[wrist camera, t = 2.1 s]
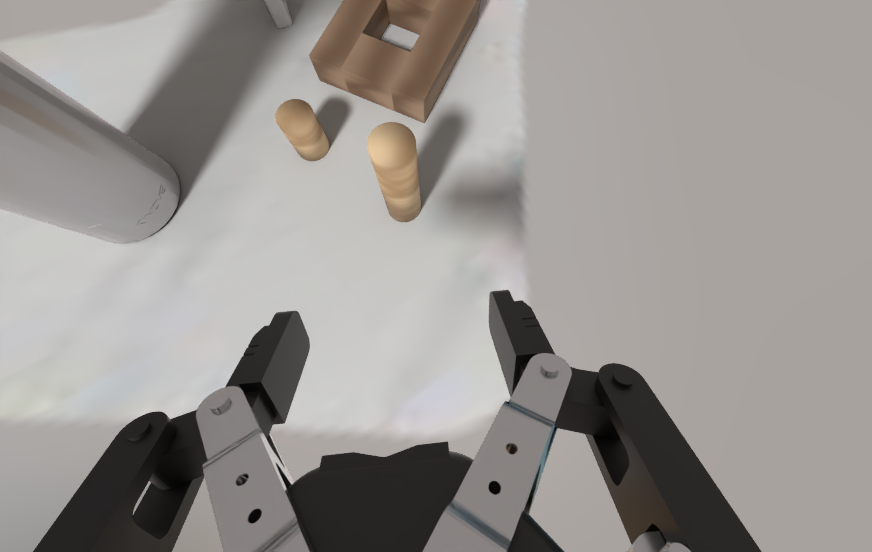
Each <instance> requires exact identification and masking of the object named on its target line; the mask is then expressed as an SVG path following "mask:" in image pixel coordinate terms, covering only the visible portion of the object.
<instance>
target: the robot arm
mask: <svg viewBox="0 0 872 552" xmlns="http://www.w3.org/2000/svg"><path fill="white" fill-rule="evenodd" d="M179 197H180V185H179V180H178V177H177V175H176V173H175V171H174V170H173V168H172V167H171V166H170V165H169V164H168V163H167V162H165V161H164V160H163V159H161V158H160V157H158V156H157V155H155V154H154V153H152V152H151V151H149V150H148V149H146V148H145V147H143V146H142V145H140V144H139V143H138V142H136V141H135V140H133V139H132V138H130V137H129V136H127V135H126V134H124V133H123V132H121V131H120V130H118V129H117V128H115V127H114V126H112V125H111V124H109V123H108V122H106V121H105V120H103V119H102V118H100V117H99V116H97V115H96V114H95V113H93V112H92V111H90V110H89V109H87V108H86V107H84V106H83V105H81V104H80V103H78V102H77V101H75V100H74V99H72V98H71V97H69V96H68V95H66V94H65V93H63V92H62V91H60V90H59V89H57V88H56V87H54V86H53V85H51V84H50V83H48V82H47V81H45V80H44V79H42V78H41V77H39V76H38V75H36V74H35V73H33V72H32V71H30V70H29V69H27V68H26V67H24V66H23V65H21V64H20V63H18V62H17V61H15V60H14V59H12V58H11V57H9V56H8V55H6V54H5V53H3V52H2V51H0V209H3V210H6V211H9V212H13V213H16V214H19V215H23V216H26V217H29V218H33V219H36V220H39V221H42V222H46V223H49V224H52V225H56V226H58V227H62V228H65V229H68V230H72V231H75V232H78V233H81V234H85V235H88V236H91V237H95V238H98V239H101V240H105V241H109V242H113V243H130V242H136V241H139V240H142V239H144V238H147V237H149V236H150V235H152V234H154V233H155V232H157V231H158V230H159V229H161V228H162V227H163V226H164V225H165V224H166V223H167V222H168V220H169V219H170V218H171V217H172V215H173V213H174V211H175V209H176V207H177V204H178V201H179ZM489 328H490V333H491V336H492V339H493V342H494V346H495V349H496V352H497V355H498V358H499V362H500V365H501V368H502V371H503V374H504V377H505V381H506V384H507V387H508V390H509V393H510V396H511V398H510V400H509V402H504V403H503V405H502V407H501V408H500V410H499V412H498V414H497V416H496V418H495V420H494V422H493V424H492V426H491V428H490V430H489V432H488V434H487V435H486V437H485V439H484V441H483V443H482V445H481V447H480V449H479V451H478V453H477V455H476V457H475V459H474V460H472V459H471V458H469V457H467V456H465V455H463V454H459V453H456V452H450V451H449V448H448V442H441V443H432V444H423V445H416V446H414V447H411V448H409V449H406V450H403V451H401V452H398V453H395V454H393V455H390V456H387V457H378V456H372V455H365V454H360V453H354V452H353V453H344V454H335V455H326V456H322V459H321V464H320V467H319V468H316V469H314V470H312V471H310V472H308V473H307V474H305V475H304V476H302V477H301V478H299V479H298V480H297V481H296V482H294V481H293V480H292V478H291V476H290V474H289V472H288V470H287V468H286V466H285V464H284V462H283V459H282V457H281V455H280V453H279V451H278V449H277V447H276V445H275V443H274V440H273V438H272V437H271V435H270V430H271V428H272V425H273V424H283V423H285V421H286V418H287V415H288V412H289V409H290V406H291V403H292V400H293V397H294V394H295V392H296V389H297V386H298V383H299V380H300V377H301V374H302V371H303V368H304V365H305V362H306V359H307V356H308V353H309V348H310V343H309V338H308V335H307V332H306V330H305V327H304V325H303V322H302V320H301V317H300V315H299V313H298V312H297V311H287V312H278V313H276V314H275V315H274V317H273V319H272V321H271V323H270V325H269V326H264V327H263V328H262V329H261V330H260V331H259V332H257V333H256V334H255V335H254V337H253V338H252V340H251V342H250V344H249V346H248V348H247V349H246V351H245V353H244V356H243V357H242V358H241V360H240V362H239V363H238V365H237V367H236V369H235V371H234V372H233V374H232V376H231V378H230V379H229V381H228V383H227V385H226V387H225V388H222V389H219V390H217V391H215V392H214V393H212V394H210V395H209V396H208V397H207V398H206V399H204V401H203V402H202V403H201V404H200V405H199V407H198V409H197V410H195V411H192V412H190V413H187V414H184V415H181V416H178V417H176V418H173V419H170V418H169V417H168V416H167V415H166V414H165V413H163V412H151V413H148V414H145V415H143V416H140V417H138V418H137V419H135V420H133V421H132V422H130V423H129V424H128V425H126V426H125V427H124V428H123V429H122V430H121V431H120V432H119V434H118V435H117V436H116V437H115V439H114V440H113V441H112V443H111V444H110V446H109V447H108V448H107V450H106V451H105V453H104V454H103V455H102V457H101V458H100V459H99V461H98V462H97V464H96V465H95V466H94V468H93V469H92V471H91V472H90V473H89V475H88V476H87V477H86V479H85V480H84V482H83V483H82V484H81V486H80V487H79V489H78V490H77V491H76V493H75V494H74V496H73V497H72V498H71V500H70V501H69V502H68V504H67V505H66V507H65V508H64V509H63V511H62V512H61V514H60V515H59V516H58V518H57V519H56V521H55V522H54V524H53V525H52V526H51V528H50V529H49V530H48V532H47V533H46V535H45V536H44V537H43V539H42V540H41V541H40V543H39V544H38V546H37V547H36V548H35V550H34V551H33V552H172V550H173V548H174V545H175V543H176V541H177V538H178V536H179V534H180V531H181V529H182V527H183V525H184V522H185V520H186V517H187V515H188V513H189V511H190V509H191V506H192V504H193V502H194V499H195V497H196V495H197V492H198V490H199V488H200V485H201V483H202V481H203V479H204V476H205V480H206V484H207V488H208V492H209V496H210V500H211V504H212V508H213V512H214V516H215V519H216V523H217V528H218V531H219V536H220V540H221V543H222V547H223V551H224V552H564V551H563V550H562V549H561V548H560V547H559V546H558V545H557V544H556V543H555V541H554V540H553V539H552V538H551V537H550V536H549V535H548V534H547V533H546V532H545V531H544V530H543V529H542V528H541V527H540V526H539V525H538V524H537V523H536V522H535V521H534V519H533V518H532V517H531V516H530V515H529V513H530V509H531V507H532V504H533V501H534V498H535V495H536V492H537V489H538V485H539V482H540V479H541V476H542V473H543V469H544V466H545V463H546V461H547V458H548V455H549V452H550V449H551V446H552V443H553V440H554V437H555V434H556V431H557V429H558V428H560V429H565V430H569V431H574V432H579V433H584V434H585V435H586V437H587V439H588V442H589V444H590V446H591V449H592V451H593V453H594V456H595V458H596V461H597V463H598V466H599V468H600V470H601V473H602V475H603V477H604V480H605V482H606V484H607V487H608V489H609V492H610V494H611V496H612V499H613V501H614V503H615V506H616V508H617V511H618V513H619V515H620V518H621V520H622V523H623V525H624V527H625V530H626V532H627V535H628V537H629V539H630V542H631V544H632V546H631V547H630V548H629V550H628V551H627V552H761V550H760V549H759V547H758V546H757V544H756V543H755V541H754V540H753V539H752V537H751V536H750V534H749V533H748V531H747V530H746V528H745V527H744V525H743V524H742V522H741V521H740V519H739V518H738V516H737V515H736V514H735V512H734V511H733V509H732V508H731V506H730V505H729V503H728V502H727V500H726V499H725V498H724V496H723V495H722V493H721V491H720V490H719V488H718V487H717V486H716V484H715V483H714V481H713V480H712V478H711V477H710V475H709V474H708V472H707V471H706V469H705V468H704V466H703V465H702V464H701V462H700V461H699V459H698V458H697V457H696V455H695V453H694V452H693V450H692V449H691V447H690V446H689V444H688V443H687V441H686V440H685V438H684V437H683V435H682V434H681V433H680V432H679V430H678V428H677V427H676V425H675V424H674V422H673V421H672V419H671V418H670V416H669V415H668V413H667V412H666V411H665V409H664V408H663V406H662V405H661V403H660V402H659V400H658V399H657V398H656V396H655V394H654V393H653V392H652V390H651V389H650V387H649V386H648V384H647V383H646V381H645V380H644V378H643V377H642V376H641V375H640V374H639V373H638V372H637V371H635V370H633V369H632V368H630V367H628V366H625V365H621V364H615V363H612V364H607V365H604V366H603V367H601V368H600V370H599V373H598V372H591V371H585V370H579V369H575V368H572V367H570V366H569V364H568V363H567V362H566V361H565V360H564V359H562V358H561V357H559V356H557V355H555V353H554V351H553V349H552V347H551V346H550V344H549V342H548V340H547V338H546V336H545V334H544V332H543V330H542V328H541V326H540V324H539V322H538V320H537V319H536V316H535V314H534V312H533V311H532V309H531V307H529V306H528V305H527V304H526V303H524V302H523V301H514V300H513V298H512V296H511V294H510V292H509V290H503V291H493V292H490V300H489ZM148 481H150V482H151V484H150V486H149V488H148V490H147V491H146V493H145V495H144V497H143V498H142V500H141V502H140V504H139V506H138V508H137V509H136V511H135V513H134V515H133V510H134V507H135V505H136V503H137V501H138V499H139V497H140V496H141V494H142V492H143V490H144V489H145V487H146V485H147V483H148Z"/></svg>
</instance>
